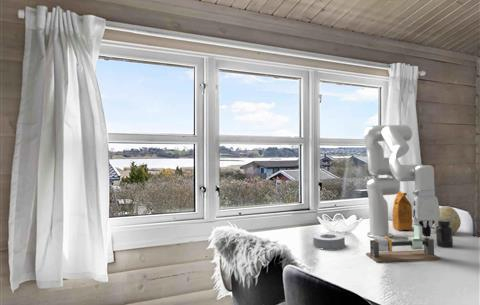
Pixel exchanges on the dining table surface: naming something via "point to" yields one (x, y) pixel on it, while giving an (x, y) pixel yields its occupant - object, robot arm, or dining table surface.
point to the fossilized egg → (450, 217)
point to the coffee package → (402, 213)
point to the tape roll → (329, 240)
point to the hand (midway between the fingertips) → (426, 235)
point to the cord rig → (400, 256)
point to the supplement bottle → (444, 234)
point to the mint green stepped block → (416, 238)
